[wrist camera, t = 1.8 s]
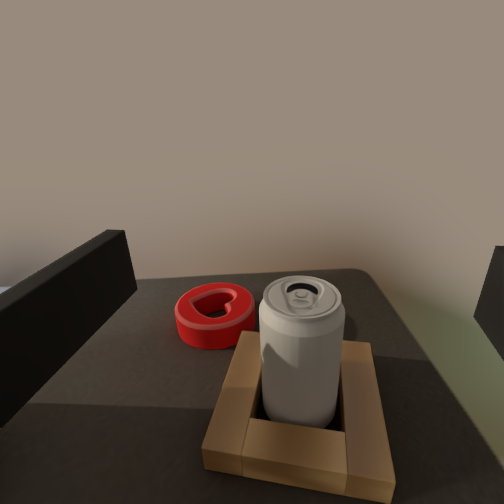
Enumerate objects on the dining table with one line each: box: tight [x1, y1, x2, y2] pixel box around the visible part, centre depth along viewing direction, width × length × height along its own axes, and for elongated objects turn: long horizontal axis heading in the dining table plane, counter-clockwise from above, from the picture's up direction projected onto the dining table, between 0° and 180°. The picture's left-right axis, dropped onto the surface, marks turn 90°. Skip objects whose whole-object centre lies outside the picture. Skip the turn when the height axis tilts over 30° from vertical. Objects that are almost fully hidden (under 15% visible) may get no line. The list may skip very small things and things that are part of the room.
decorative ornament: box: [175, 283, 256, 350], centre depth 39 cm, size 10×10×3 cm
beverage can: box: [259, 276, 345, 429], centre depth 26 cm, size 6×6×12 cm
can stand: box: [201, 331, 396, 504], centre depth 28 cm, size 13×13×2 cm
